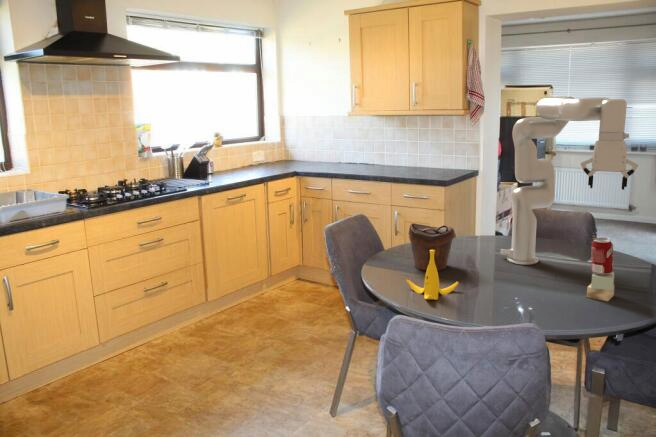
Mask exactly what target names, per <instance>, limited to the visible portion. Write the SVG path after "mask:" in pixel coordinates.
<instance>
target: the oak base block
mask: <svg viewBox="0 0 656 437" xmlns="http://www.w3.org/2000/svg"><path fill="white" fill-rule="evenodd" d="M615 285H616V284H613V288H612V291H610V290H602V289H595V288H591V283H590V284H589V285H588V286H587V289H586V298H590V299H592V300H593V299H594V300H600V301H604V302H609V301H610V300H611V299H612V298H613V297H614V296H615V295H614V294H615Z"/></svg>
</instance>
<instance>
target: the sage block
mask: <svg viewBox="0 0 656 437" xmlns="http://www.w3.org/2000/svg"><path fill="white" fill-rule="evenodd" d="M614 283H615V272H612V273H610V274H608V275H597V274H595V273H593V272H592V275H591V283H590V284H591V288H595V289H602V290H610V291H612V288H613V285H615V284H614Z"/></svg>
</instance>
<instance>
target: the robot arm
mask: <svg viewBox="0 0 656 437" xmlns="http://www.w3.org/2000/svg"><path fill="white" fill-rule="evenodd" d="M627 103H628V102H627V101H626V99H622V98H609V97H585V98H574V97H572V96H566V95H565V96H564V95H563V96H548V97H543V98H542V99H539V101H538V102H536V105H535V113H536V114H537V116H530V117H523V118H521V119H518V120H517V121H516V122H515V123H514V125H513V128H512V131H511V132H512V134H511V135H512V141H513V146H514V175H515V179H516V180H515V181H517V182H519V183H520V184H531V183H537V185H525V186H520V187H516V188H515V189H514V190H513V191H512V192H511V195H510V202H511V207H512V210H511V211H512V223H511V224H512V229H511V248H507V249H505V248H504V249H503V248H500V254H502V255H504V256H507V257H506V259H507V260H506V261H508V262H509V263H512V264H516V265H521V266H522V265H524V266H525V265H526V266H527V265H529V266H530V265H536V264H537V263H538V262H539V257H537V256H536V241H537V240H536V238H537V225H538V223H537V217H536V215H535V213H534V212H533V210H536V209H537V210H538V209H544V208H545V209H546V208H549V207H551V206H552V205H553V203H554V200H555V188H556V187H555V184H556V183H555V181H556V178H555V177H556V174H555V173H556V171H555V167H554V165H553V163H552V161H550V160H549V159H547V158H538V149H537V146H536V143H535V142H534V141H533V140H532V139H550V138H551V139H552V138H555V137H557V136H558V135H559V134H560V133H561V132H562V131H563V129H564V128H565V127H566V126H567V125H568V123H569V122H589V121H590V122H591V121H592V122H593V121H599V129H598V140H596V141H595V142H594V148H593V153H592V157H591V158H588V159H586V160H584V161H581V162H580V166H581V168H582V171H583V172H584V173H585V174H586V175H587V176H588V181H587V184H588V185H587V186H590V188H589V189H593V186H594V174H596V172H604V173H605V172H609V173H620V174H622V180H621V190H622V191H624V190H625V188H627V187H628V178H629V177H631V175H633V174H634V173H635V172H636V170H637V168H638V167H639V164H638V163H636V162H635V161H632V160H630V159H628V158H627V155H628V154H627V152H628V151H627V141H625V139H629V137H630V134H629V133H626V132H625V130H626V129H625V128H626V127H625V126H626V117H627ZM589 164H591V166H592V167H591V169H590V170H589V168H587V165H589ZM627 165H629V166H631V169H629V170H628V171H626V167H627Z"/></svg>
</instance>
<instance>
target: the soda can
mask: <svg viewBox="0 0 656 437" xmlns="http://www.w3.org/2000/svg"><path fill="white" fill-rule="evenodd" d="M590 250H591V253H590V254H591V257H590V258H591V259H590V260H591V261H590V262H591V263H590V264H591V265H590V268H591V269H590V272H591V273H592V274H593V273H595V274H597V275H608V274H610V273H614V271H613V270H614V269H613V268H614V266H613V265H614V244H613V242H612V239H611V238H608V237H595V238H593V241H592V243H591V248H590Z"/></svg>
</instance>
